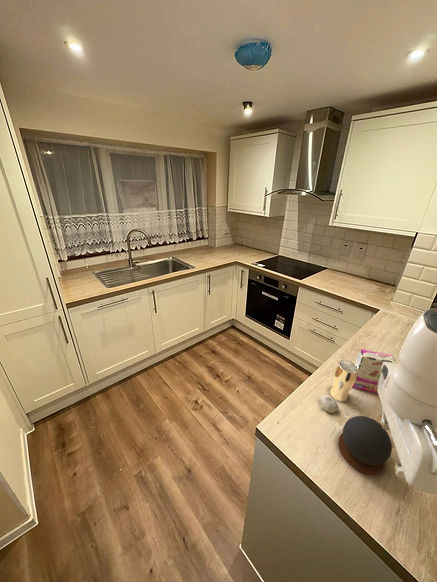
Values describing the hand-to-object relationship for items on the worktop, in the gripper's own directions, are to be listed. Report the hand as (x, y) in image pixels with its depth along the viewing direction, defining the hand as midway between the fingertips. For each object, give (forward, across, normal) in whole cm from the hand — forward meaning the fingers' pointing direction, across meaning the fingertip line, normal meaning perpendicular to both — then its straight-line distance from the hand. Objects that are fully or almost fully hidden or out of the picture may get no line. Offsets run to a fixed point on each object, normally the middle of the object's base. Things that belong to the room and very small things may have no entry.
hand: (392, 448), depth 46 cm
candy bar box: (+28, +46, -10) cm, 54 cm away
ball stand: (+27, +17, -3) cm, 32 cm away
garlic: (+27, +30, +5) cm, 41 cm away
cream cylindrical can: (+27, +38, +1) cm, 46 cm away
